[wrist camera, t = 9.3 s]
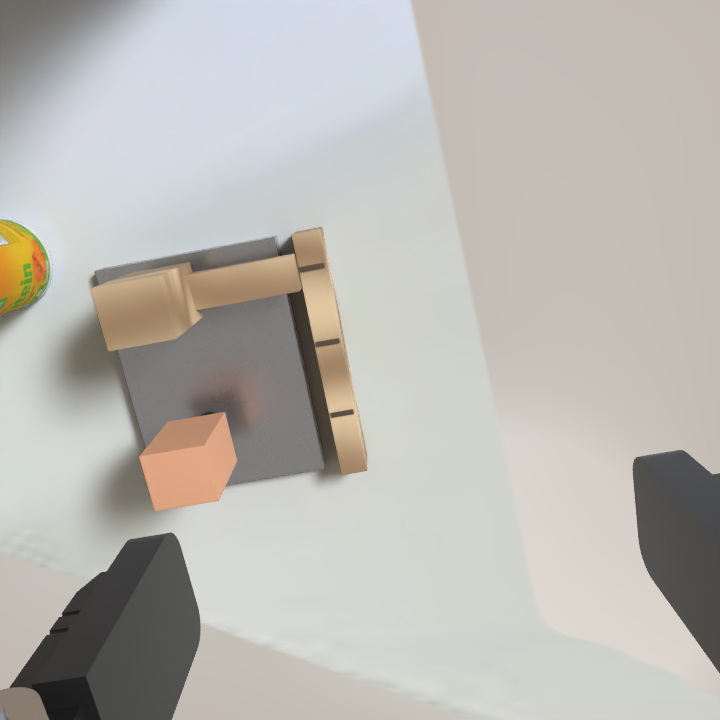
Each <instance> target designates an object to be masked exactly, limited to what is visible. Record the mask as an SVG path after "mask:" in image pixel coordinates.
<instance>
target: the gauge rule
mask: <svg viewBox="0 0 720 720" xmlns="http://www.w3.org/2000/svg"><path fill="white" fill-rule="evenodd" d="M292 240H293V244H294V249H295V253H293V254H288V255H283V256H277V257H272V258H267V259H261V260H256V261H251V262H245V263H240V264H235V265H229V266H224V267H219V268H213V269H208V270H203V271H197V272H192V269H191V265H190V262H187V263H182V264H177V265H171V266H166V267H161V268H155V269H150V270H145V271H139V272H134V273H130V274H127V275H124V276H122V277H119V278H117V279H114V280H111V281H109V282H106V283H104V284H101V285H98V286H96V287H93V288H91V289H90V291H91V294H92V298H93V301H94V305H95V308H96V311H97V315H98V318H99V322H100V325H101V329H102V332H103V335H104V339H105V342H106V346H107V349H108V351H113V350H119V349H124V348H130V347H136V346H141V345H147V344H152V343H158V342H163V341H169V340H174V339H177V338H178V337H179V336H180V335H182V334H183V333H184V332H185V331H187V330H188V329H189V328H190V327H191V326H193V325H194V324H195V323H196V322H197V321H199V320H200V319H201V318H202V317H203V313H202V309H206V308H212V307H217V306H222V305H228V304H233V303H239V302H244V301H250V300H255V299H261V298H266V297H271V296H277V295H282V294H288V293H293V292H299V291H300V290H301V288H302V287H303V292H304V297H305V302H306V306H307V311H308V316H309V321H310V326H311V330H312V335H313V340H314V345H315V349H316V354H317V359H318V364H319V369H320V373H321V378H322V383H323V388H324V392H325V397H326V402H327V407H328V411H329V416H330V421H331V426H332V431H333V435H334V440H335V445H336V450H337V454H338V459H339V464H340V469H341V474H342V475H345V474H351V473H357V472H363V471H367V453H366V448H365V443H364V438H363V432H362V427H361V422H360V417H359V412H358V407H357V402H356V397H355V392H354V387H353V382H352V377H351V372H350V367H349V361H348V356H347V351H346V346H345V341H344V336H343V331H342V326H341V321H340V316H339V311H338V306H337V301H336V295H335V290H334V285H333V280H332V275H331V270H330V265H329V260H328V255H327V250H326V245H325V240H324V235H323V230H322V227H320V228H314V229H309V230H304V231H298V232H295V233H294V234H292ZM295 254H296V258H295ZM296 259H297V263H298V268H299V272H298V268H297V263H296ZM299 273H300V277H299ZM300 278H301V282H300ZM301 283H302V287H301Z"/></svg>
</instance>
